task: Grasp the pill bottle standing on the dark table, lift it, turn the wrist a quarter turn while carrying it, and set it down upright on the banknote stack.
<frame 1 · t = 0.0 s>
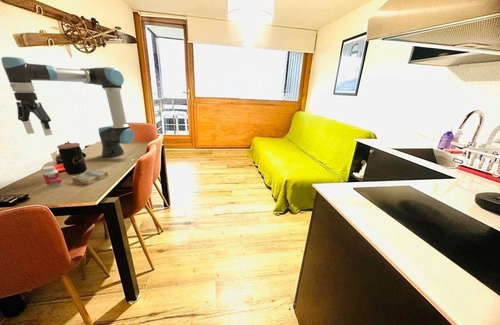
hand: (39, 134, 107), 28 cm above the table, fingers open, 13 cm apart
pill bottle: (55, 185, 112), on the table
banknote stack: (91, 179, 120), on the table
coffee jar: (77, 172, 130), on the table
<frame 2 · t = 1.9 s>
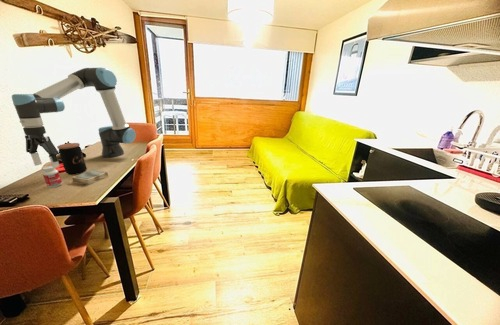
hand: (47, 166, 107), 12 cm above the table, fingers open, 13 cm apart
nothing on the table moved.
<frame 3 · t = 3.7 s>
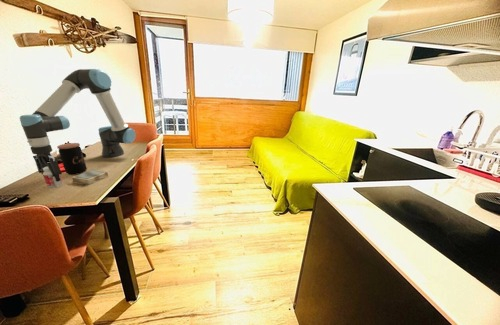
hand: (54, 185, 112), 0 cm above the table, fingers closed on pill bottle, 6 cm apart
pill bottle: (55, 185, 112), on the table, touching gripper
everything else where it was.
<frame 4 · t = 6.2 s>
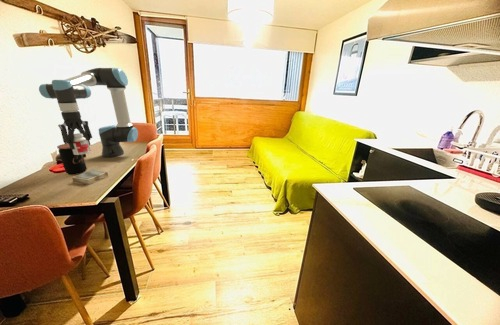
hand: (82, 152, 114), 17 cm above the table, fingers closed on pill bottle, 6 cm apart
pill bottle: (83, 153, 114), point 16 cm above the table, touching gripper
everything else where it was.
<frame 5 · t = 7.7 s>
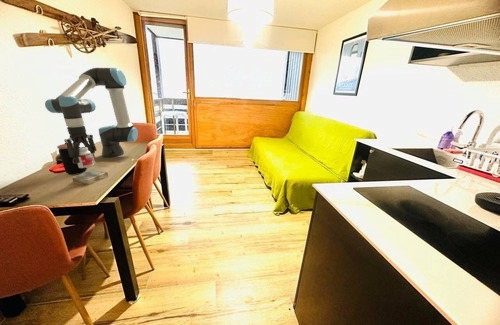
hand: (87, 165, 117), 9 cm above the table, fingers closed on pill bottle, 6 cm apart
pill bottle: (87, 166, 117), point 8 cm above the table, touching gripper
everything else where it was.
when the fingers open (4 cm above the table, at t = 8.9 s): pill bottle stays where it is, resting on banknote stack.
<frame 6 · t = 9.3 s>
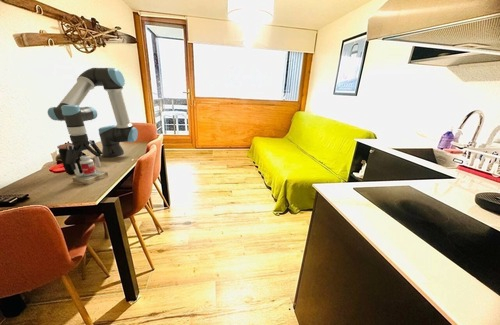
hand: (88, 170, 118), 6 cm above the table, fingers open, 12 cm apart
pill bottle: (90, 174, 119), point 3 cm above the table, touching banknote stack
everything else where it was.
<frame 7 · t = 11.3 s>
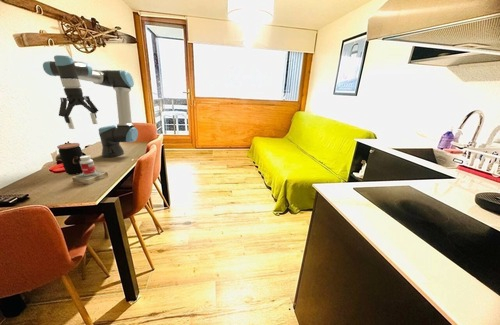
hand: (84, 126, 117), 30 cm above the table, fingers open, 13 cm apart
nothing on the table moved.
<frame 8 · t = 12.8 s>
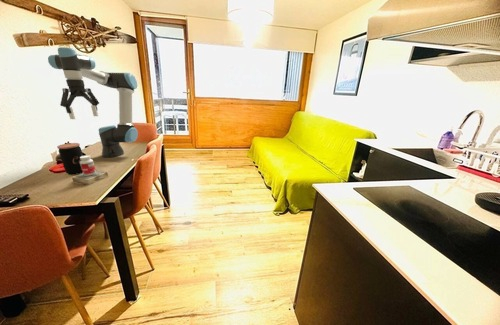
hand: (85, 117, 120), 35 cm above the table, fingers open, 13 cm apart
nothing on the table moved.
at the end: pill bottle inside the target area on the banknote stack (0.2 cm from its centre), point 3.1 cm above the banknote stack's base; pill bottle tilted 0°; the gripper is holding nothing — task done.
